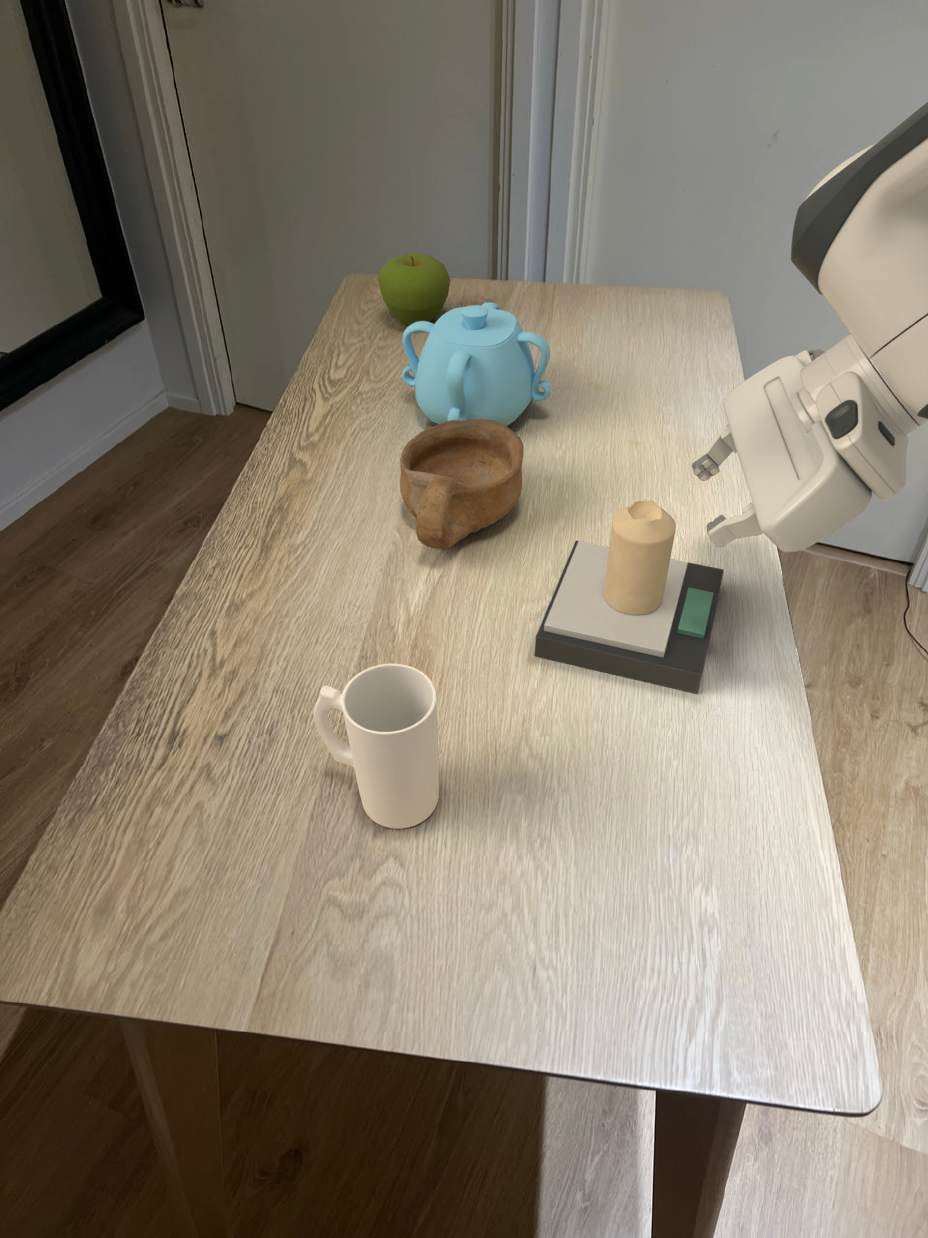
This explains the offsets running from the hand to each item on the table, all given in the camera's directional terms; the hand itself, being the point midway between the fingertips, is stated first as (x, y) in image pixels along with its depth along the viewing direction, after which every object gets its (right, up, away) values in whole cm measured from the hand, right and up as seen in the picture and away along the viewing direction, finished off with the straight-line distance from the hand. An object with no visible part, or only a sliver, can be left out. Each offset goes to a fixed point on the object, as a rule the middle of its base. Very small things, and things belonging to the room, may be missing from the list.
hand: (703, 503), depth 76 cm
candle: (-5, -8, +7) cm, 12 cm away
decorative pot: (-19, +17, +39) cm, 47 cm away
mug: (-27, -24, -4) cm, 36 cm away
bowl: (-21, +1, +22) cm, 30 cm away
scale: (-4, -10, +10) cm, 15 cm away
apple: (-28, +35, +58) cm, 74 cm away
